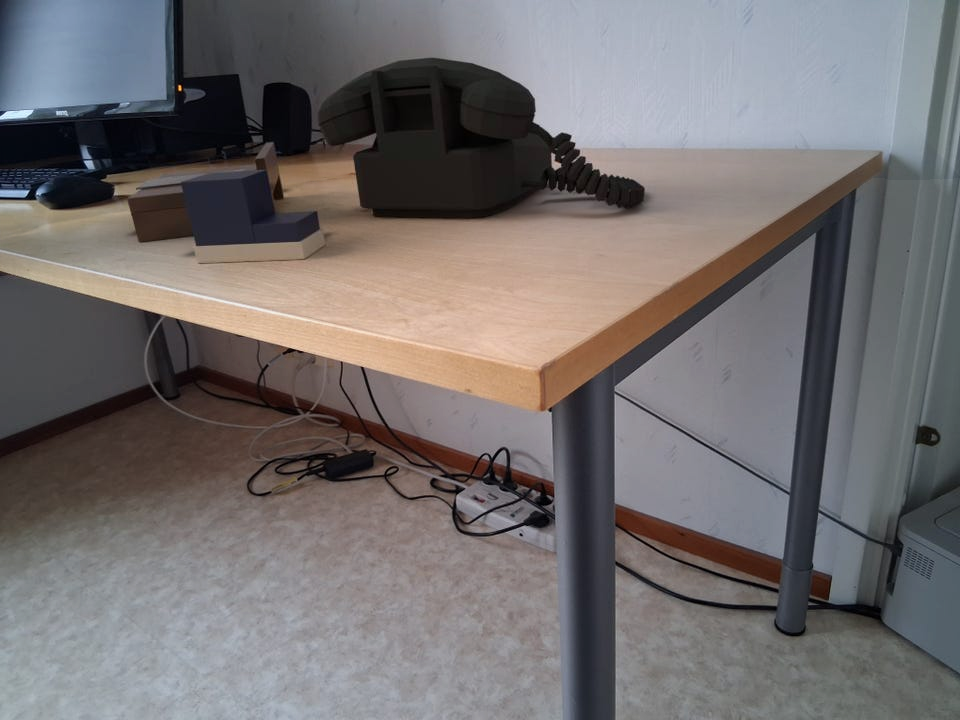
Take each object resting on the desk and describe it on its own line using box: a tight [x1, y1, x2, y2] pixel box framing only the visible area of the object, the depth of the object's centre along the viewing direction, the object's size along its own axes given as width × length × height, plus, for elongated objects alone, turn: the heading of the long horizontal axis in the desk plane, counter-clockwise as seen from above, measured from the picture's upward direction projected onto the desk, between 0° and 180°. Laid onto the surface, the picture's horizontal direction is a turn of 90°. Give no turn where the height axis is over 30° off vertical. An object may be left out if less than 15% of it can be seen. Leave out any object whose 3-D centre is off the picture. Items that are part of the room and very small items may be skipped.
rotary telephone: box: [317, 56, 646, 219], centre depth 74 cm, size 33×22×15 cm, turn 65°
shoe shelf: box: [126, 141, 285, 243], centre depth 80 cm, size 14×20×7 cm
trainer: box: [181, 170, 326, 264], centre depth 61 cm, size 10×5×7 cm, turn 81°
